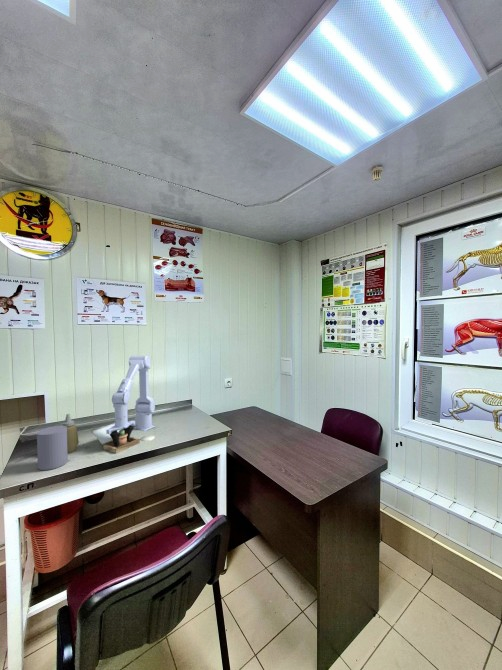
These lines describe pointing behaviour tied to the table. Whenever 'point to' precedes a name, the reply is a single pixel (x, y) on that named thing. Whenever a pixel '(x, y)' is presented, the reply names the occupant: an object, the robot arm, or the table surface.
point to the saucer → (148, 438)
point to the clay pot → (122, 438)
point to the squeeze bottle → (71, 434)
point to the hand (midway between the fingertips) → (121, 443)
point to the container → (52, 447)
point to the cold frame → (110, 446)
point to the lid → (103, 433)
